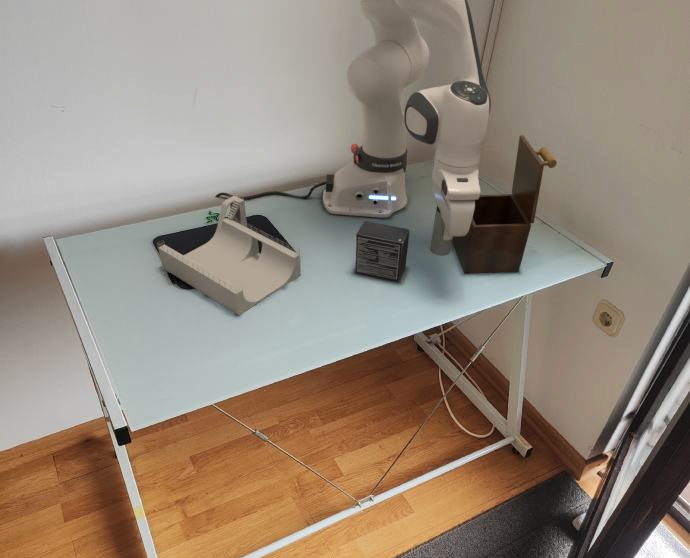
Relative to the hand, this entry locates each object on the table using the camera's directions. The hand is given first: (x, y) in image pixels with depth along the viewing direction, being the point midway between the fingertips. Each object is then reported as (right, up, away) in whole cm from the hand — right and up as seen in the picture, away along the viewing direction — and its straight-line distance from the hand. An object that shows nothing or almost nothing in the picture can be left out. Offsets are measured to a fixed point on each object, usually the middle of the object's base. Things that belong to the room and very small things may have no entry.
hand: (443, 230), depth 125 cm
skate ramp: (-45, -7, +7) cm, 46 cm away
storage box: (+11, -4, +12) cm, 17 cm away
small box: (-13, -8, +7) cm, 17 cm away
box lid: (+17, +11, -1) cm, 20 cm away
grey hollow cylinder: (0, -4, +4) cm, 5 cm away
